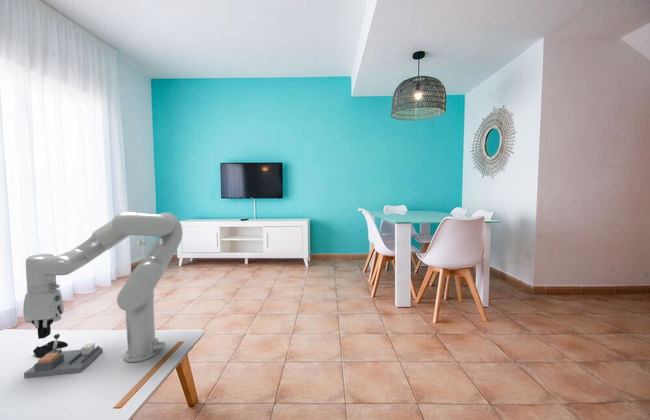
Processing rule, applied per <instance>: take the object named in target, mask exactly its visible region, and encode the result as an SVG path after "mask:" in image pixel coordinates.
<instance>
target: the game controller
mask: <svg viewBox="0 0 650 420" xmlns="http://www.w3.org/2000/svg"><path fill="white" fill-rule="evenodd" d="M53 346H54V340H51V341H48V342H47V343H45V344H44V345H41V346H39V345H38V346H36V347H35V348H34V349H33V351H32V352H33V354H34V355H35V356H36V357H38V358H39V359H40V358H42V357H43V356H45V355H46V354H48V351H52V350H53ZM57 347H60V348H66V347H68V343H67V342H65V341H62V340H58V342H57Z"/></svg>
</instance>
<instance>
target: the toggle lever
mask: <svg viewBox="0 0 650 420" xmlns="http://www.w3.org/2000/svg"><path fill="white" fill-rule="evenodd" d="M60 336H61V335H60V333H56V334H54V335H53V338H54V340H53V341H54V346H53V349H52V350H53V351H55V350H57V347H58V346H57V342H58V341H59V338H60Z"/></svg>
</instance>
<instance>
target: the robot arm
mask: <svg viewBox="0 0 650 420" xmlns="http://www.w3.org/2000/svg"><path fill="white" fill-rule="evenodd" d="M179 220H180V219H178V217H176V216H175V215H174V214H173V213H170V212H161V213H158V214H156V213H141V212H139V211H138V210H134V209H130V210H129V209H128V210H125V211H121V212H119V213H117V214H116V215H114V216H113V218H112V220H110V221H108V222H107V223H105V224H104V225H102V226H100V227H99V228H97V229H95V230H94V231H92V232H93V233H92V234H91V236H90V237H89V238H88V239H86V240H85V241H83V242H82V243H81V244H79V245H77V246H76V247H74V248H73V249H71V250H69V251H66V252H64V253H62V254H59V255H54V254H51V253H40V254H34V255H30V256H28V257H27V258H26V259H25V275H26V277H25V278H26V293H25V296H24V300H23V311H22V313H23V318H24V320H25V323H28V324H32V325H34V327H35V328H36V329H37V336H38V337H37V338H38V339H46V338H47V337H49V336H50V335H51V334H52V333H51V331H52V329H51V325H52V324H53V323H55V322H59V321H60V320H61V319H62V316H61V315H62V314H64V311H65V310H64V309H65V308H64V302H63V296H62V294H61V290H60V289H59V288H60V284H57V276H67V275H70V274H71V273H73V272H75V271H78V270H79V269H81V268H83V267H84V266H85V265H88V263H90V262H91V261H93V260H95V259H96V258H97V257H99V256H101V255H102V254H103V253H105V252H107V251H108V250H111V248H113V247H115V246H116V245H118V244H119V243H121V242H122V241H124V240H126V239H127V238H128V237H130V236H145V237H157V239H156V241H155V243H154V244H153V246H152V248H151V249H150V250H149V252H148V254H147V255H146V256H145V257H144V258H143V259H142V260H141V261H140V262H138V264H137V265H136V267H134V269H133V271H132V272H131V274H130V275H129V276H128V278H127V279H126V282H125V283H124V285H123V286H122V288H121V289H120V291H119V292H118V294H117V298H116V303H117V305H118V307H119V308H120V309H121V310H123V311H125V325H126V327H125V328H126V341H127V350H126V352H124V354H123V360H124V361H125V362H126V363H137V362H143V361H146V360H148V359H150V358H153V357H154V356H155V355H157V354H158V353H159V352H160V350H164V349H166V347H167V344H166V341H159V338H158V337H156V330H155V329H156V328H155V326H156V325H155V308H154V305H155V304H154V300H155V298H154V297H155V288H156V286H157V284H158V283H159V282H160V279H162V277H163V275H164V273H165V272H166V270H167V267H168V265H169V263H170V262H171V260H172V258H173V256H174V255H175V253H176V251H178V250H177V249H178V248H179V247H180V244H181V241H182V239H183V227H182V224H181V221H179Z"/></svg>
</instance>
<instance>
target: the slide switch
mask: <svg viewBox="0 0 650 420" xmlns="http://www.w3.org/2000/svg"><path fill="white" fill-rule="evenodd" d="M95 345H96V343H86V344H84V345H83V346H81V349H80V350H81V352H82V355H88V354H89V353H90V352H92V351H93V350H94V349H95V348H96V346H95Z"/></svg>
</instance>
